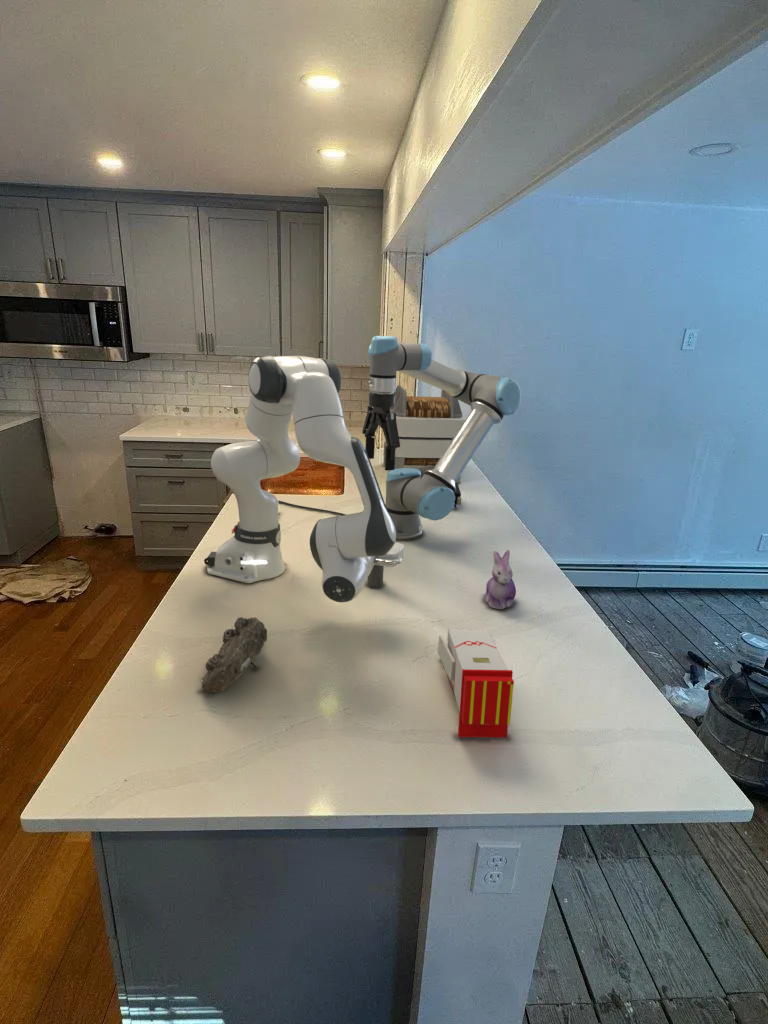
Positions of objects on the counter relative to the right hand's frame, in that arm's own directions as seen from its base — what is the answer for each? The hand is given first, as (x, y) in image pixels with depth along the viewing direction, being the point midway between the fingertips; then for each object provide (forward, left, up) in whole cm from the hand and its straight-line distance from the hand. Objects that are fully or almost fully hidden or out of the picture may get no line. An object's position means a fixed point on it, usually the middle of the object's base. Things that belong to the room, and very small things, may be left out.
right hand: (379, 464), depth 170 cm
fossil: (+26, -61, -31) cm, 73 cm away
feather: (-50, -6, -31) cm, 59 cm away
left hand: (+21, -20, -12) cm, 31 cm away
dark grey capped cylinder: (+14, -12, -31) cm, 36 cm away
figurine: (+42, +9, -31) cm, 53 cm away
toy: (+63, -27, -31) cm, 75 cm away
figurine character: (-22, +58, -31) cm, 69 cm away
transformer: (-63, +81, -31) cm, 107 cm away
